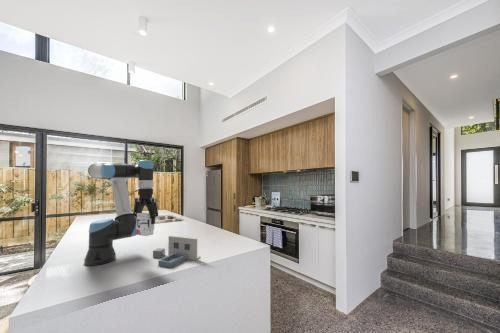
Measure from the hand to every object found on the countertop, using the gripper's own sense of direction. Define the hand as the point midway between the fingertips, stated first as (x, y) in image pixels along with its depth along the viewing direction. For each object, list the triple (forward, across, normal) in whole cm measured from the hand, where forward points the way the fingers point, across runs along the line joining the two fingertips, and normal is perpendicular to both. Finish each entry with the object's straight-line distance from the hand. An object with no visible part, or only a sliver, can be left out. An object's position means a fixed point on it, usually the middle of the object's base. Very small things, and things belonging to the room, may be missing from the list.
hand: (145, 229), depth 119 cm
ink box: (+3, 0, 0) cm, 3 cm away
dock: (+20, +10, +10) cm, 24 cm away
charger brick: (+20, -5, +15) cm, 25 cm away
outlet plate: (+20, +10, +20) cm, 30 cm away
